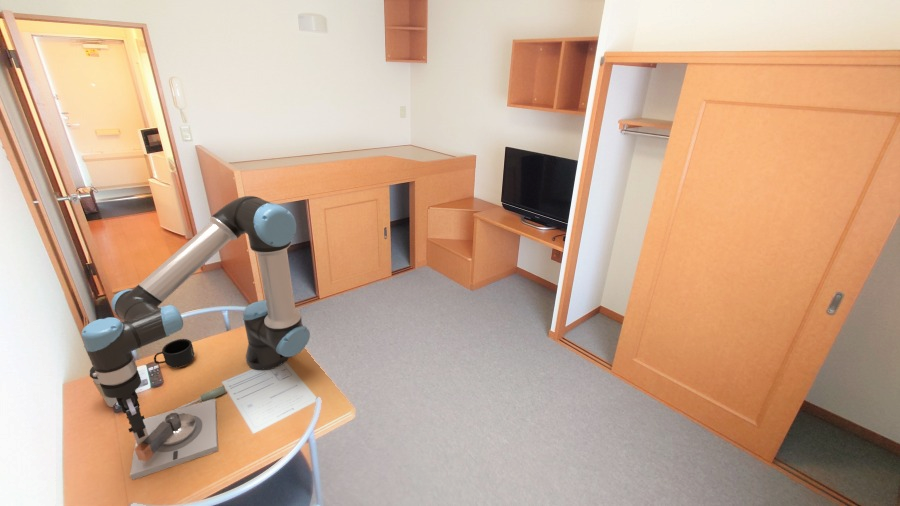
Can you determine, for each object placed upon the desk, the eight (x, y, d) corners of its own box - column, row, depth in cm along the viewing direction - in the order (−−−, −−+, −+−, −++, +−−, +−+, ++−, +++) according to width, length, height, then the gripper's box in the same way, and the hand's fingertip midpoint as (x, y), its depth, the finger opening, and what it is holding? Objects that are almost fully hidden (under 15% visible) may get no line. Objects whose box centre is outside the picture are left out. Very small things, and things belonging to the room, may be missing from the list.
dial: (174, 415, 123) (169, 401, 120) (204, 421, 122) (200, 406, 119) (128, 462, 108) (121, 446, 106) (161, 469, 107) (155, 453, 105)
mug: (194, 350, 153) (190, 335, 150) (196, 364, 147) (192, 349, 144) (156, 361, 147) (151, 345, 144) (157, 376, 140) (151, 360, 137)
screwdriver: (223, 383, 135) (225, 389, 134) (223, 387, 137) (226, 393, 136) (171, 405, 126) (173, 412, 124) (172, 410, 127) (174, 416, 126)
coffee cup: (118, 412, 126) (104, 375, 119) (94, 406, 127) (78, 369, 121) (144, 391, 134) (131, 356, 127) (121, 386, 135) (107, 350, 129)
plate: (216, 403, 131) (214, 398, 130) (217, 450, 116) (216, 445, 115) (141, 424, 122) (139, 419, 121) (132, 480, 106) (129, 474, 106)
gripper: (94, 369, 101) (121, 435, 111) (105, 398, 93) (132, 466, 103) (130, 356, 106) (153, 420, 116) (144, 382, 98) (166, 448, 108)
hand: (143, 442), depth 110 cm, fingers closed
